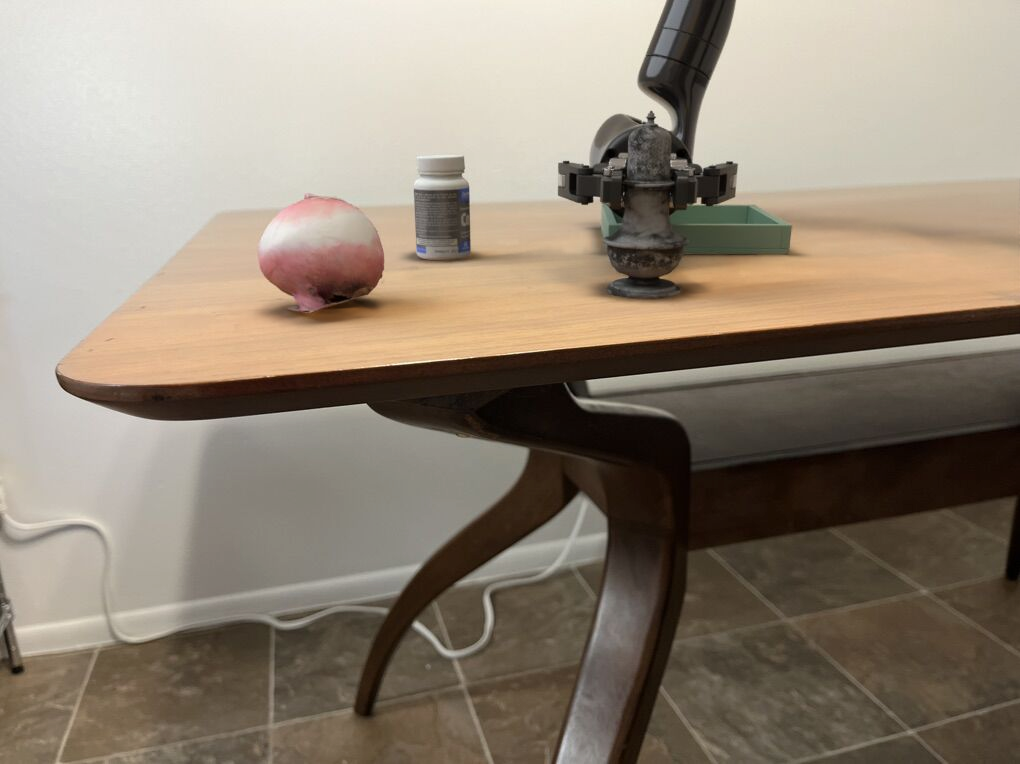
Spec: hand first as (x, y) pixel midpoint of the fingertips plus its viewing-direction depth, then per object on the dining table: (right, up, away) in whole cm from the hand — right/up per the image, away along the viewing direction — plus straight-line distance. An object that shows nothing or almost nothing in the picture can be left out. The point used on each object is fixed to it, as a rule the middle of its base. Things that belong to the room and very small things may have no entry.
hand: (649, 193), depth 52 cm
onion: (-21, -7, +1) cm, 22 cm away
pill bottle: (-15, -1, +18) cm, 24 cm away
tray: (+8, +1, +25) cm, 27 cm away
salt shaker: (0, -6, +5) cm, 8 cm away
